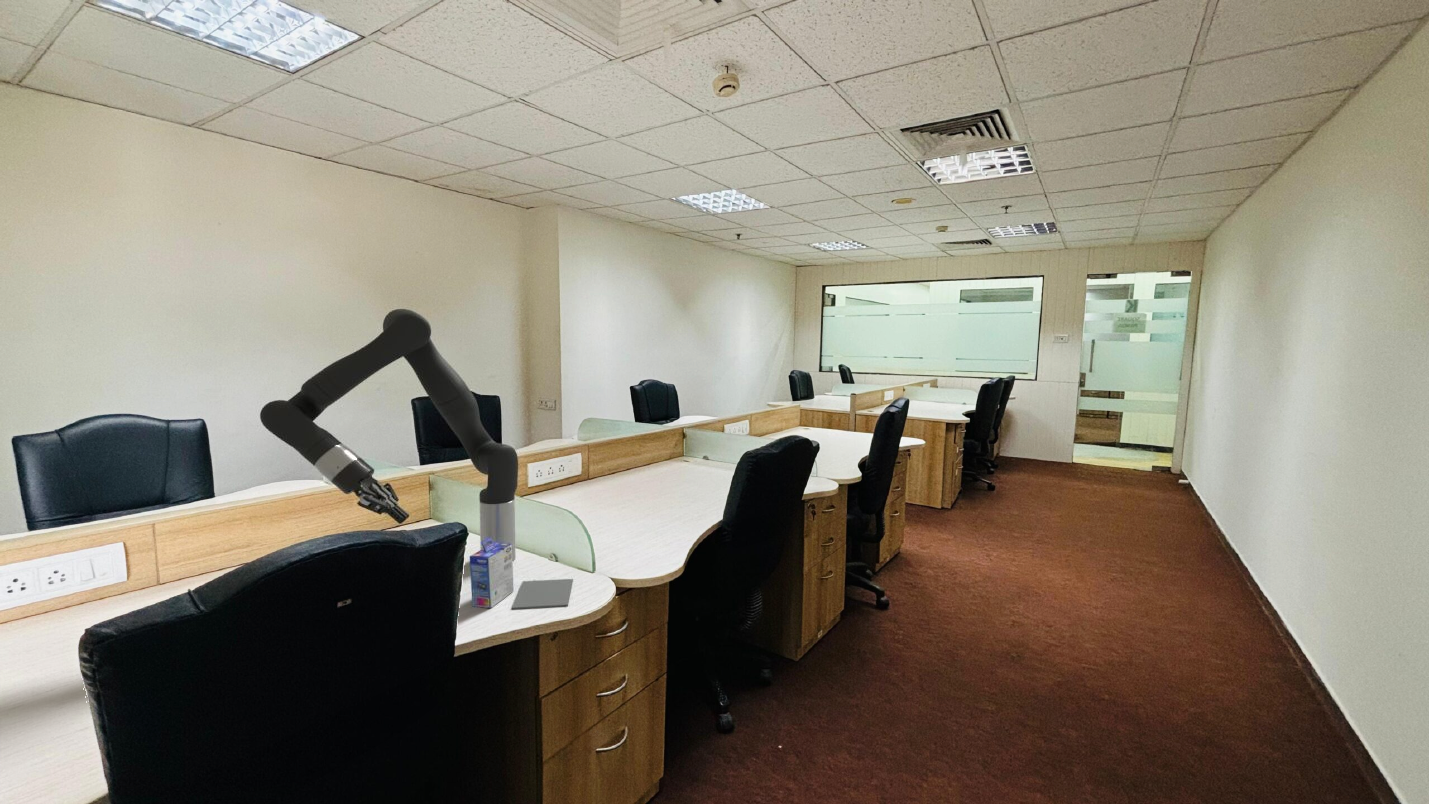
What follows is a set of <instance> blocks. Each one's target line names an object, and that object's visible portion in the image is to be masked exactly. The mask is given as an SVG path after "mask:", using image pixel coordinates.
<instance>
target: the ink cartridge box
mask: <svg viewBox="0 0 1429 804" xmlns="http://www.w3.org/2000/svg"><path fill="white" fill-rule="evenodd" d="M488 541H490V542H491V544H489V545H488V546H485V543H486V542H488ZM481 543H482V546H483V549H482V550H481V549H480V550H478V551H477V552H475V553H473V554H471V555H470V556H469V568H470V569H469V571H470V572H469V573H470V584H471V585H470V587H471V590H470V591H471V603H472V607H477V608H485V609H491V608H493V607H494V606H496V605H497V604H498V603H500V602H501V601H503V600H504V599H505V598H506V597H508V596H509V595H511V594H512V593H513V592H514V570H513V569H514V568H513V567H514V566H513V565H514V564H513V561H512V544H508V543H498V542H493V541H492V539H491V538H490V537H489V538H487V539H485V540H483V541H481Z"/></svg>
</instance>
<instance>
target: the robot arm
mask: <svg viewBox="0 0 1429 804" xmlns="http://www.w3.org/2000/svg"><path fill="white" fill-rule="evenodd" d="M431 335H432V327H431V325H430V322H429V321H428V319H426V318H425V316H423V315H421V314H419V313H417V312H416V311H413V310H410V309H407V308H406V309H405V308H397V309H394V310H391V311H389V312H388V313H387V314H386V315H385V317H384V319H383V323H382V332H381V333H379V335H378V336H377V337H375V338H374V339H373V340H372V341H370V342H369V343H367V344H366V345H364V346H363V347H361V348H360V349H357V350H356V351H354V352H352V353H350V354H348V355H346V356H344V357H342V358H340V359H338V360H336V361H333V362H332V363H331V364H329V365H327V366H326V367H325V368H323V369H322V370H319V372H317V373H316V374H314V375H313V376H311V377H310V378H308V379H307V380H306V381H305V382H304V383H302V385H301V387H300V390H299V392H296V394H295V395H293V396H292V397H291V398H289V399H288V400H284V399H278V400H272V401H270V402H267V403H266V404H265V405H264V406H263V407H262V408H261V410H260V413H259V418H260V422H261V424H262V425H263V427H265V429H267V430H268V432H270V433H272V434H273V435H274V436H275V437H277V438H278V439H279V440H281V441H283V442H284V443H285V444H287V445H289V446H290V447H292V448H293V449H294V450H295V451H296V452H298V453H299V454H300V455H301V456H302V457H303V458H304V459H305V460H307V462H309V463H310V464H311V465H312V466H313V467H314V468H316V469H317V471H318V472H319V473H320V474H321V475H322V476H323V477H325V478H326V479H327V480H328V481H329V482H331V483H332V484H333V485H334V486H336V488H337V489H339V490H340V491H341V492H343V493H344V494H345V495H351V494H352V493H354V494H355V496H356V497H357V498H359V500H358V501H357V503H356V504H357V505H358V506H359V507H361V508H364V509H365V510H368V511H371V512H373V513H376V514H378V515H382V514H385V515H388V516H390V518H392V519H393V520H394V521H395V522H397V523H398V524H400V525H401V524H403V523H404V522H405V521H407V519H408V518H410V514H409V513H408V512H407V511H405V510H404V509H403V508H402V507H401V506H400V505H399V501H400V499H399V497H398V495H397V493H396V491H395V490H394V488H393V486H392V484H390V483H389V482H386V483H385V484H383V483H381V481H379V480H377V479H376V478H374V477H373V475H374V474H375V468H374V467H372V466H371V465H370V464H368V463H367V462H366V461H365V460H364V459H363V458H362V457H360V456H359V455H358V453H356V452H355V451H353V450H352V449H351V448H350V447H348V446H347V445H346V444H345V445H344V443H342V442H341V441H340V440H339V439H338V438H336V437H335V435H333V434H332V433H330V432H329V431H328V430H326V429H324V428H322V427H320V426H319V425H317V424H316V423H315V422H314V421H315V420H316V419H317V418H318V417H319V416H320V415H321V414H322V413H323V412H324V411H325V410H326V409H328V408H329V407H330V406H331V405H332V404H334V403H336V402H337V401H338V400H340V399H342V397H344V396H345V395H346V394H348V393H349V392H351V391H352V390H354V389H355V388H356V387H358V386H359V385H360V384H362V383H363V382H364V381H367V379H368V378H370V377H371V376H373V375H375V374H376V373H377V372H379V371H381V370H382V369H383V368H385V367H387V366H389V365H390V364H392V363H394V362H395V361H398V360H399V359H401V358H404V359H405V360H406V361H407V363H408V364H409V365H410V366H411V368H412V370H413V371H414V373H415V375H416V377H417V379H418V381H419V382H420V384H421V386H422V388H423V389H424V391H425V393H426V395H427V396H428V397H429V399H430V401H431V403H432V404H433V405H434V406H435V408H436V410H437V411H438V413H439V415H441V417H442V418H444V421H445V422H446V423H447V425H448V426H449V427H450V429H451V430H452V431H453V433H454V434H455V436H456V437H457V438H458V439H459V441H460V442H461V444H462V446H463V448H464V449H465V451H466V453H467V455H468V457H469V459H470V461H471V463H472V464H473V465H472V466H474V467H475V469H476V470H477V471H478V472H480V473H481V474H483V475H487V485H486V487H485V488H482V489H481V490H480V491H479V499H478V500H479V532H480V533H479V534H480V541H479V543H480V550H482V549H483V546H482V543H481V541H483V540H485V539H487V538H489V537H490V538H491V539H492V541H493V542H498V543H508V544H512V562H513V561H514V560H516V508H515V507H516V505H515V501H516V500H515V494H516V492H517V489H518V481H519V480H518V479H519V457H518V453H517V451H516V449H515V448H513V447H512V446H511V445H509V444H504V443H498V442H496V441H494V440H493V438H492V437H491V436H490V435H489V433H488V431H487V430H486V428H484V426H483V424H482V421H481V418H480V409H479V405H478V402H477V399H476V397H475V396H474V393H472V392H471V390H470V388H469V387H468V385H467V384H466V382H465V381H464V380H463V378H462V377H461V376H460V374H459V373H458V372H457V371H456V370H455V369H454V368H453V367H452V365H451V364H449V363H448V361H447V360H446V359H445V358H444V357H443V356H442V354H441V353H440V351H438V349H437V347H436V346H435V344H434V342H433V341H432V339H431ZM489 544H491V542H490V541H488V542H486V543H485V546H488V545H489Z"/></svg>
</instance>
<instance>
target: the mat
mask: <svg viewBox="0 0 1429 804" xmlns="http://www.w3.org/2000/svg"><path fill="white" fill-rule="evenodd" d="M573 582H574V578H566V579H565V578H562V579H545V580H544V579H542V580H540V579H539V580H523V581H522V582H521V584H520V587H519V588H518V589H519V590H518V592H517V594H516V596H515V599H514V602H513V604H512V607H511V610H525V609H526V608H527V609H540V608H541V607H542V608H543V607H544V608H558V607H559V608H560V607H568V606H569V603H570V597H571V592H572V588H573V587H572V586H573ZM539 607H540V608H539ZM542 608H541V609H542Z"/></svg>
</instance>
